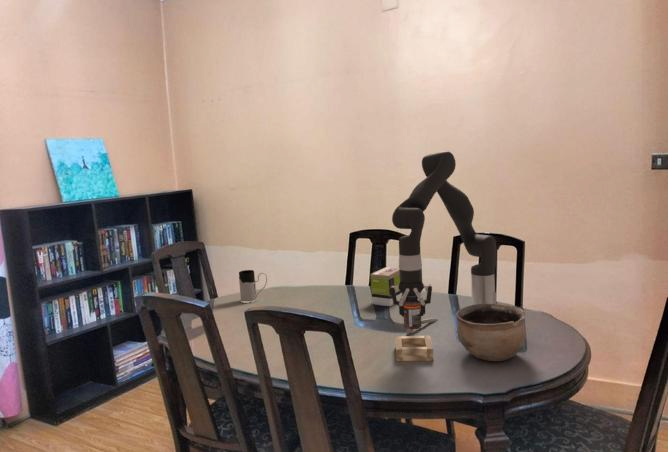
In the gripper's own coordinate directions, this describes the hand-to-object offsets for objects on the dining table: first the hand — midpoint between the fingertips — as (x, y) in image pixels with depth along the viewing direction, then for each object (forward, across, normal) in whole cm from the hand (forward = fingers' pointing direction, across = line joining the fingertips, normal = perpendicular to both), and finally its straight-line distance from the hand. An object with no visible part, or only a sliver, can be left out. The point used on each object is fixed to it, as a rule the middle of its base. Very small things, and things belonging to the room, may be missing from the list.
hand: (412, 315), depth 164 cm
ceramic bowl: (+14, -25, +3) cm, 29 cm away
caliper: (+14, -5, -26) cm, 30 cm away
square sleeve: (+13, 0, 0) cm, 13 cm away
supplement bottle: (+4, 0, 0) cm, 4 cm away
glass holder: (+14, +75, -70) cm, 103 cm away
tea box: (+14, +8, -62) cm, 64 cm away
